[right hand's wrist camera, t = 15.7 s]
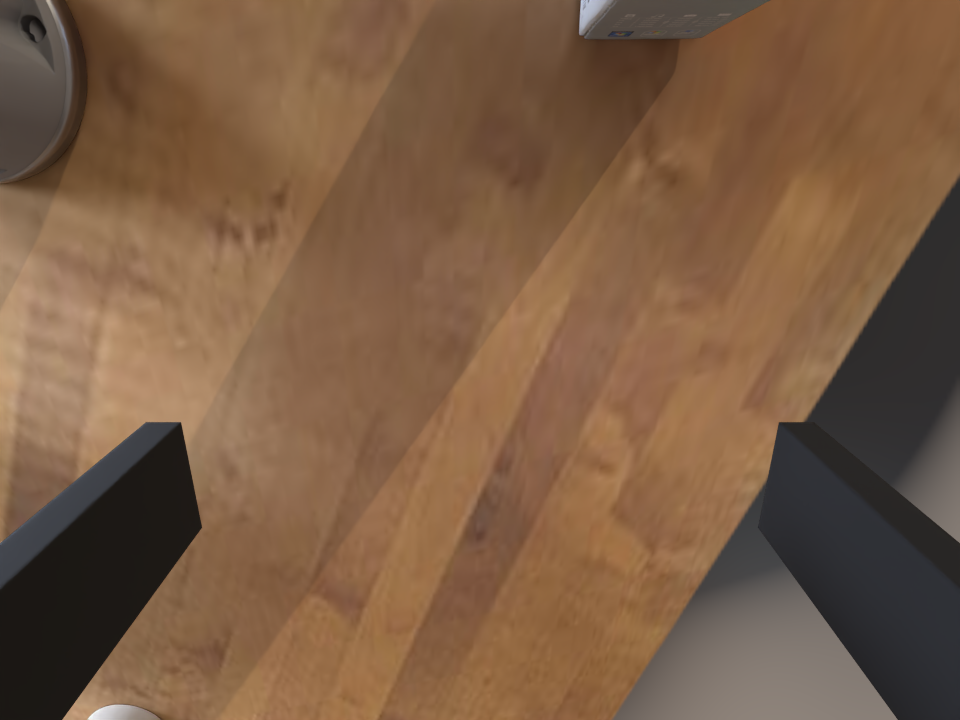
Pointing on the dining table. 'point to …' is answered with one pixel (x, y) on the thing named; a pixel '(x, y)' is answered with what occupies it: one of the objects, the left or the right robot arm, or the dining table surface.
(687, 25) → the hard drive box
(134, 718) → the cylinder
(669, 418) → the dining table surface
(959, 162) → the dining table surface
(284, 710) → the dining table surface
